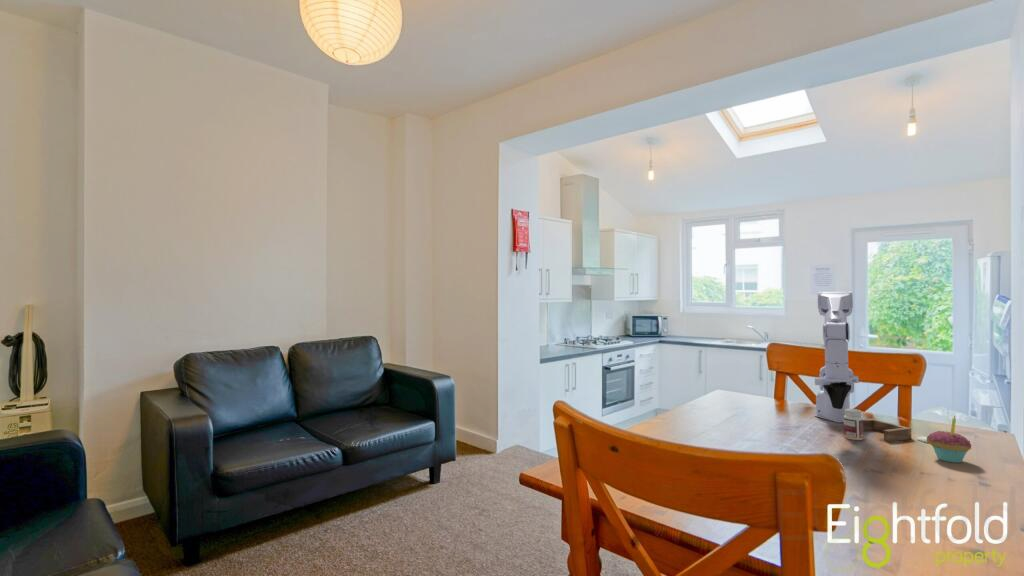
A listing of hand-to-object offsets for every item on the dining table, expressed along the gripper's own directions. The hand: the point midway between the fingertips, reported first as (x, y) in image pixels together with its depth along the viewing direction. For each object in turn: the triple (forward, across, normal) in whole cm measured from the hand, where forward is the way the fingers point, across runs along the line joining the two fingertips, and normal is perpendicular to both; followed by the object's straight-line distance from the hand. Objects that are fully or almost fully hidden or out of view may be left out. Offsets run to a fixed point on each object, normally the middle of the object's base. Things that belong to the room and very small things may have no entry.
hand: (837, 408), depth 140 cm
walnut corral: (+9, +16, 0) cm, 19 cm away
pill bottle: (+10, +6, 0) cm, 11 cm away
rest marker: (+9, +24, -9) cm, 27 cm away
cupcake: (+10, +12, -21) cm, 26 cm away
